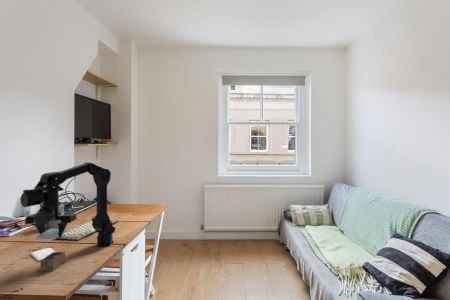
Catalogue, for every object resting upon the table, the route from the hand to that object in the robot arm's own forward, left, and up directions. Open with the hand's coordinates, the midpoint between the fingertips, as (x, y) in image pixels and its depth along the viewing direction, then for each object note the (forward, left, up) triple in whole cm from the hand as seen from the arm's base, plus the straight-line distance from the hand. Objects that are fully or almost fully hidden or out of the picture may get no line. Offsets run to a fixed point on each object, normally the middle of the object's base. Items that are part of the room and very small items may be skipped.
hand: (51, 237), depth 115 cm
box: (-2, +2, -12) cm, 12 cm away
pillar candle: (+29, -53, -12) cm, 62 cm away
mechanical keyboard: (+6, -48, -13) cm, 50 cm away
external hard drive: (+9, -10, -13) cm, 19 cm away
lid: (0, 0, +1) cm, 1 cm away
